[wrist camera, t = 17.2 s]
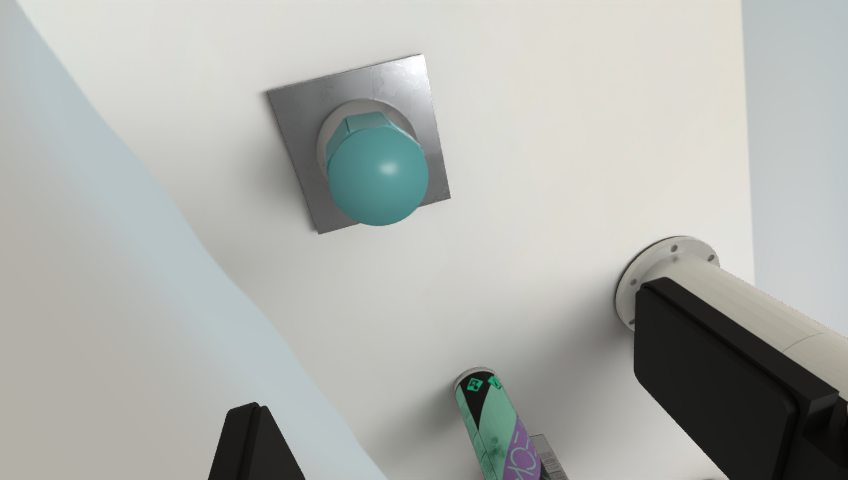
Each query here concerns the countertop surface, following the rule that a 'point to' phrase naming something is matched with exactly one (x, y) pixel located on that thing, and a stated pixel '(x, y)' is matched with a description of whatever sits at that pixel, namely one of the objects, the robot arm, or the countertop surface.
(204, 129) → the countertop surface
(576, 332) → the countertop surface
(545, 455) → the coffee box
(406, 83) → the acorn nut on plate
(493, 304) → the countertop surface
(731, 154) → the countertop surface
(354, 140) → the cap
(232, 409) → the robot arm
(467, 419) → the spray can
